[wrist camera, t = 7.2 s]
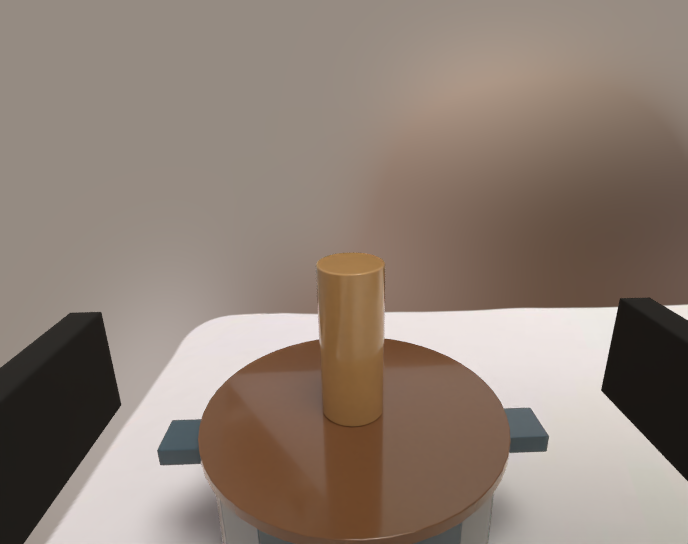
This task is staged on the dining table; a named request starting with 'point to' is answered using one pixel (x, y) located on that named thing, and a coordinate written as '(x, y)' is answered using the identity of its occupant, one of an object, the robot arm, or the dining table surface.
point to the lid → (354, 428)
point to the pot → (245, 540)
